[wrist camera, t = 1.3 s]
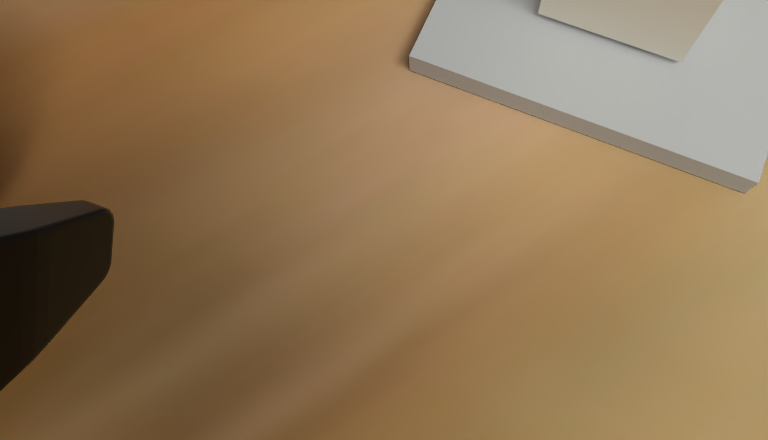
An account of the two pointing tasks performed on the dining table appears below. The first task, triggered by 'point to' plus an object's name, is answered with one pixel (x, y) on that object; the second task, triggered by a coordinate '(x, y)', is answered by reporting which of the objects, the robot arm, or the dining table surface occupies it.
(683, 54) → the beige block
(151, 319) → the dining table surface
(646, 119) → the socket
